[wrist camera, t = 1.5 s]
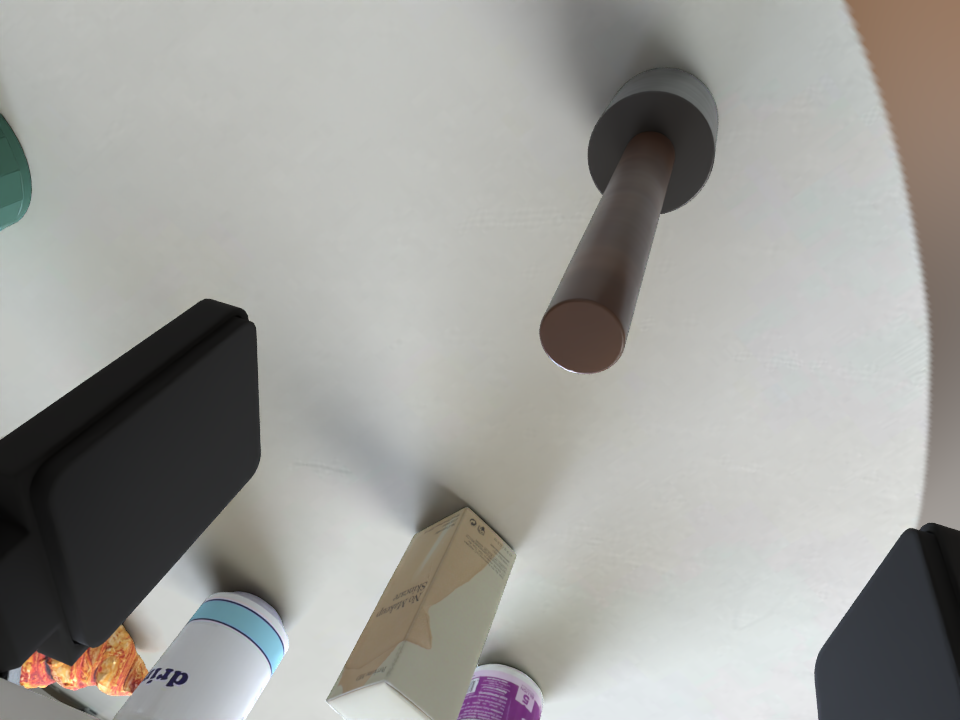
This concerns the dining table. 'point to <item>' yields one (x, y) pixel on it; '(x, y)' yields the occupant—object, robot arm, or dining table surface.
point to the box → (427, 626)
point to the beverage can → (213, 663)
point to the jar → (12, 178)
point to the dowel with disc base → (629, 210)
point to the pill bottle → (501, 695)
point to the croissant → (91, 668)
